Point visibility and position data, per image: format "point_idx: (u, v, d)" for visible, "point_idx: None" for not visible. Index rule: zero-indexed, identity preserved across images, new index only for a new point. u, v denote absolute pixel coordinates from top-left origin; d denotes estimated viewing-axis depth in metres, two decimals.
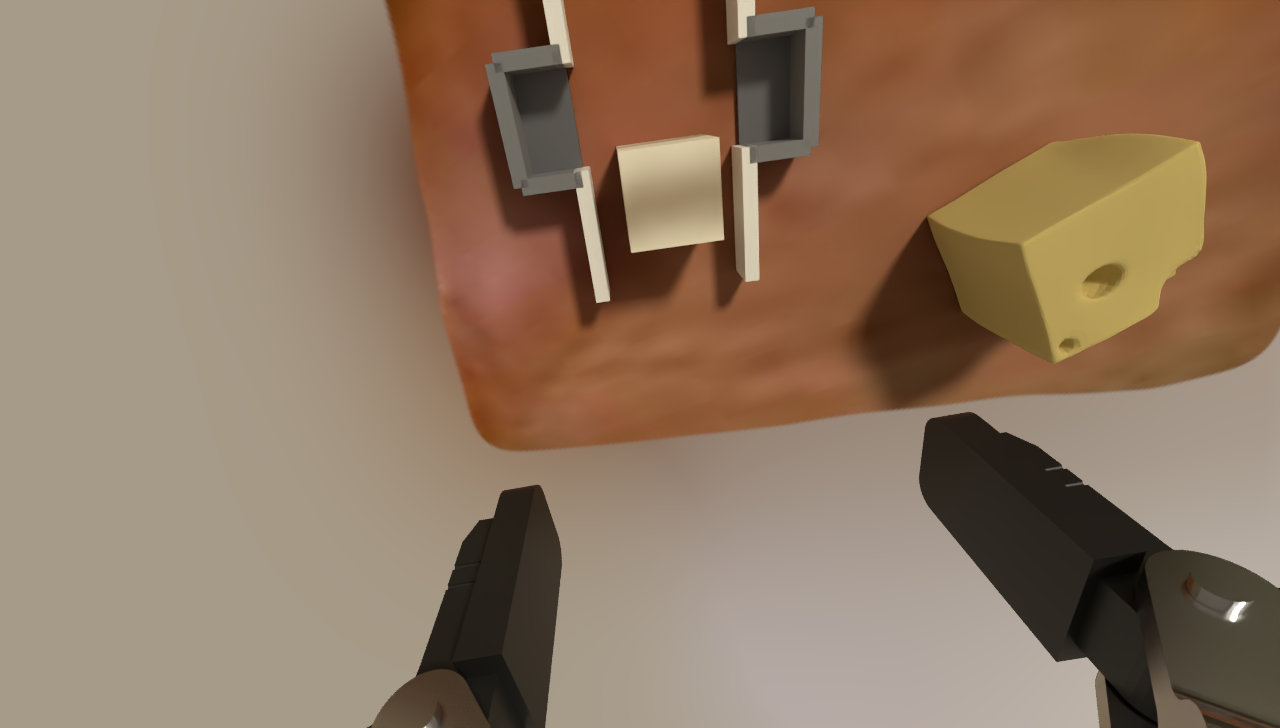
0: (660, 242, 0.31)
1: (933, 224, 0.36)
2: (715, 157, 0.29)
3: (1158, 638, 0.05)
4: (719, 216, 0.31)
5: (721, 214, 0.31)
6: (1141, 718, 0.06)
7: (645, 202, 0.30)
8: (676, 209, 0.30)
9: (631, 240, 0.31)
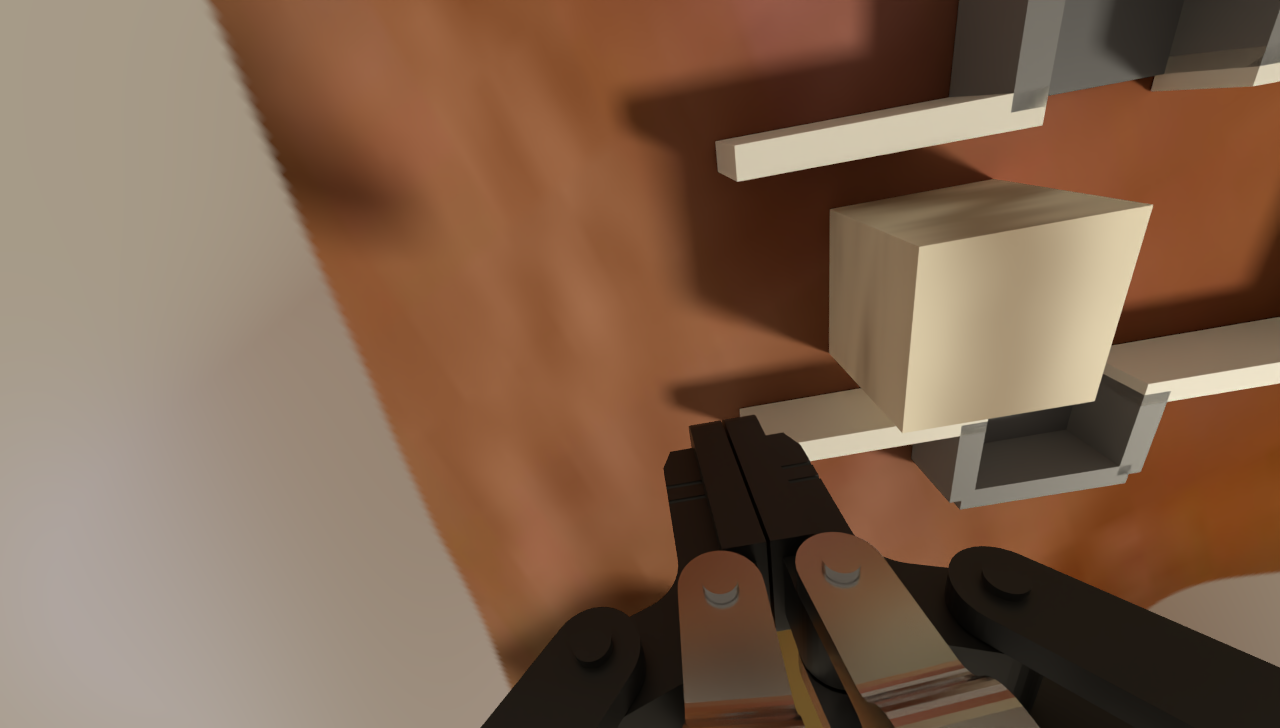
0: (928, 311, 0.14)
1: None
2: (1062, 399, 0.15)
3: (830, 638, 0.06)
4: (950, 419, 0.15)
5: (953, 422, 0.15)
6: (838, 693, 0.07)
7: (1025, 272, 0.13)
8: (989, 339, 0.14)
9: (948, 246, 0.13)
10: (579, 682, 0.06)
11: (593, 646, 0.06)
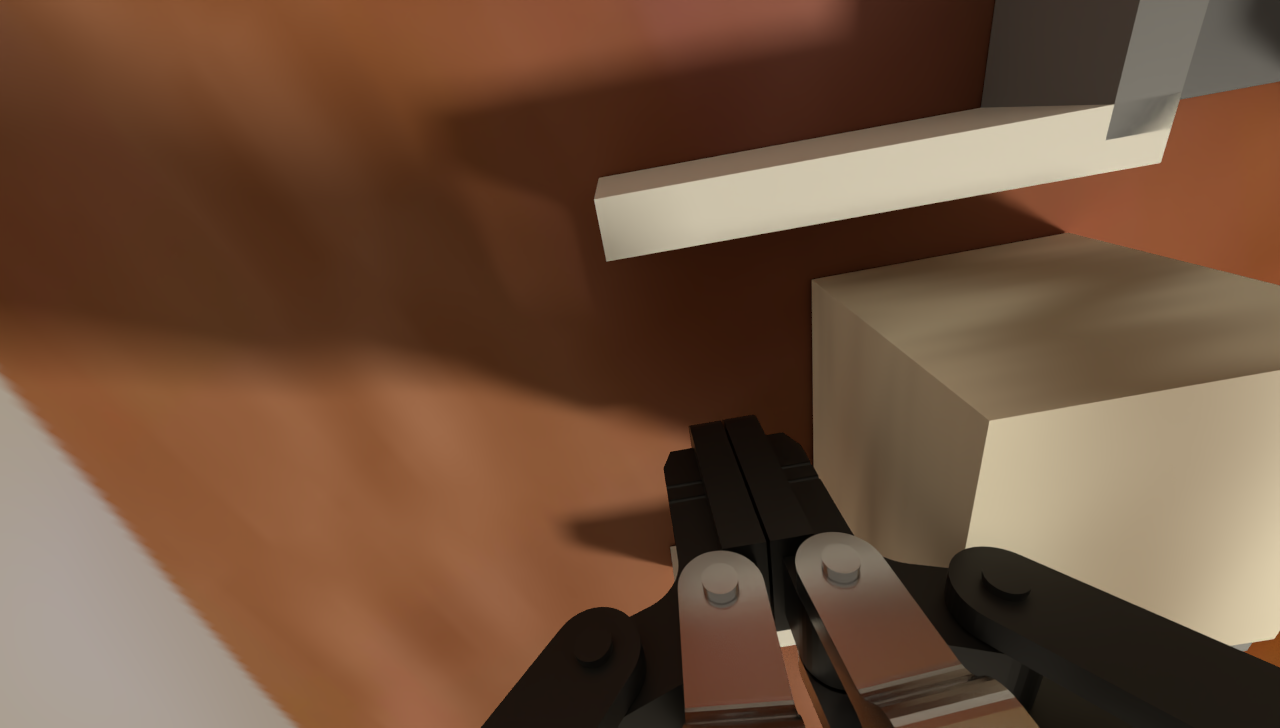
0: (999, 526, 0.07)
1: None
2: (1220, 639, 0.09)
3: (830, 638, 0.06)
4: None
5: None
6: (838, 693, 0.07)
7: (1196, 458, 0.07)
8: (1108, 562, 0.07)
9: (1050, 417, 0.06)
10: (579, 682, 0.06)
11: (593, 646, 0.06)
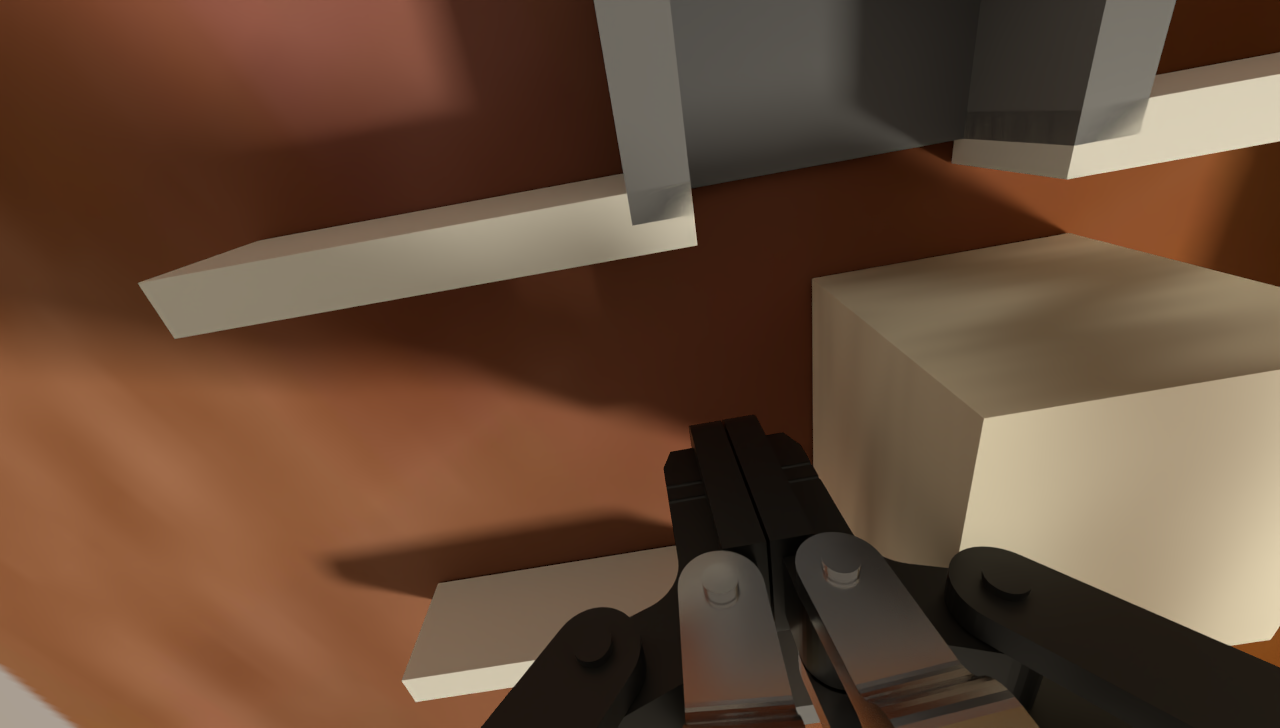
0: (993, 522, 0.07)
1: None
2: (1216, 639, 0.09)
3: (830, 638, 0.06)
4: None
5: None
6: (838, 693, 0.07)
7: (1190, 457, 0.07)
8: (1103, 560, 0.08)
9: (1044, 416, 0.06)
10: (579, 682, 0.06)
11: (593, 645, 0.06)
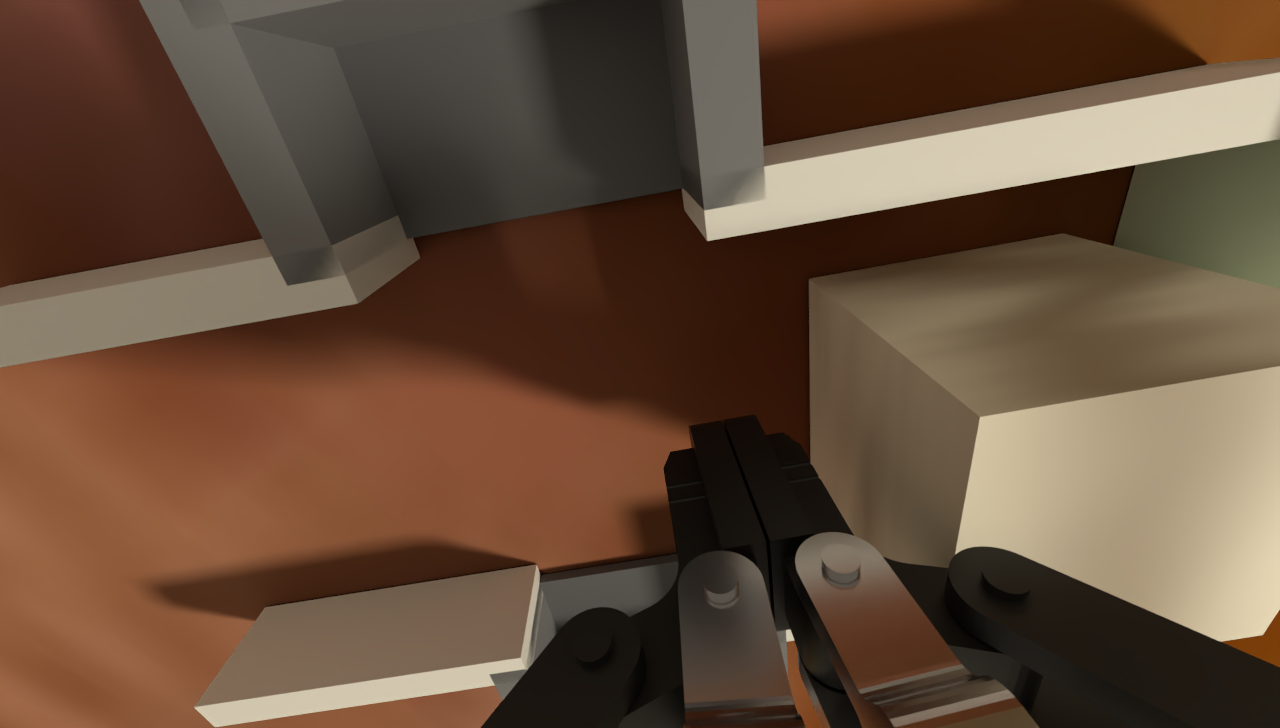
0: (989, 520, 0.07)
1: None
2: (1209, 635, 0.09)
3: (830, 638, 0.06)
4: None
5: None
6: (838, 693, 0.07)
7: (1183, 455, 0.07)
8: (1097, 557, 0.08)
9: (1039, 414, 0.06)
10: (579, 682, 0.06)
11: (593, 646, 0.06)
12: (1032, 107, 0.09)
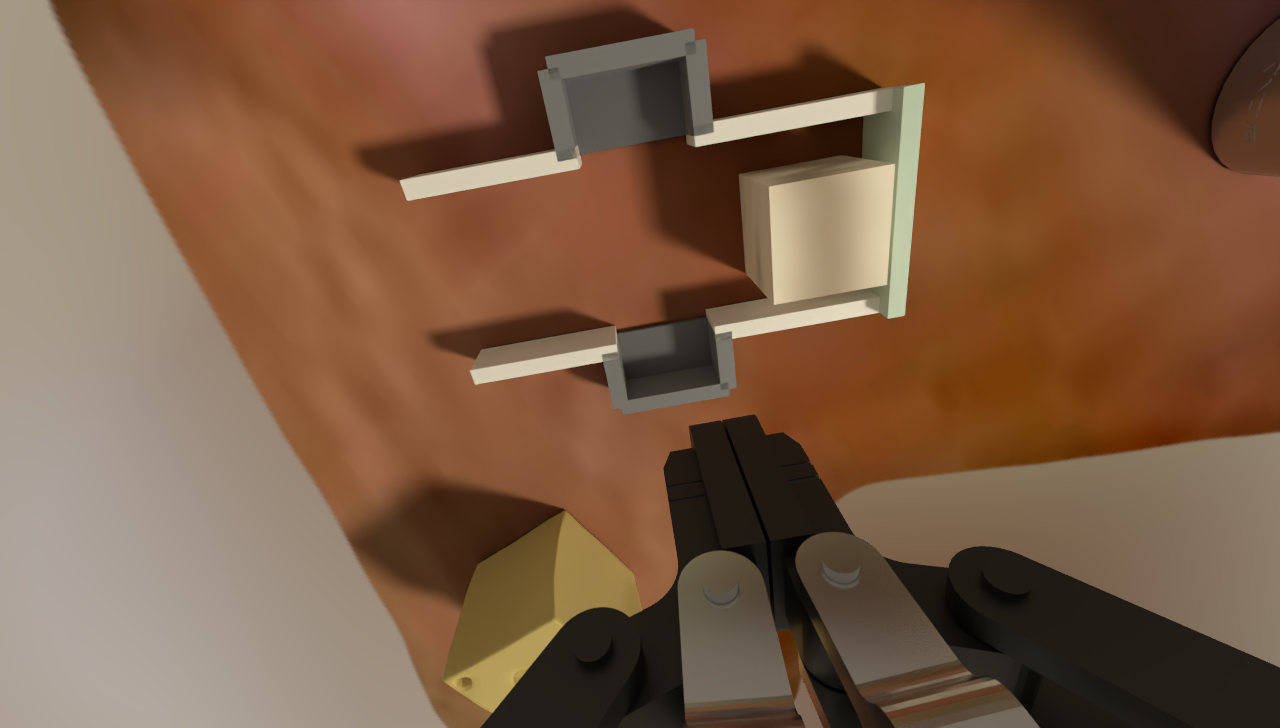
0: (779, 225, 0.24)
1: (558, 520, 0.38)
2: (867, 283, 0.26)
3: (830, 638, 0.06)
4: (801, 296, 0.26)
5: (804, 298, 0.26)
6: (839, 693, 0.07)
7: (831, 202, 0.24)
8: (817, 243, 0.24)
9: (785, 186, 0.23)
10: (579, 682, 0.06)
11: (593, 646, 0.06)
12: (804, 103, 0.25)
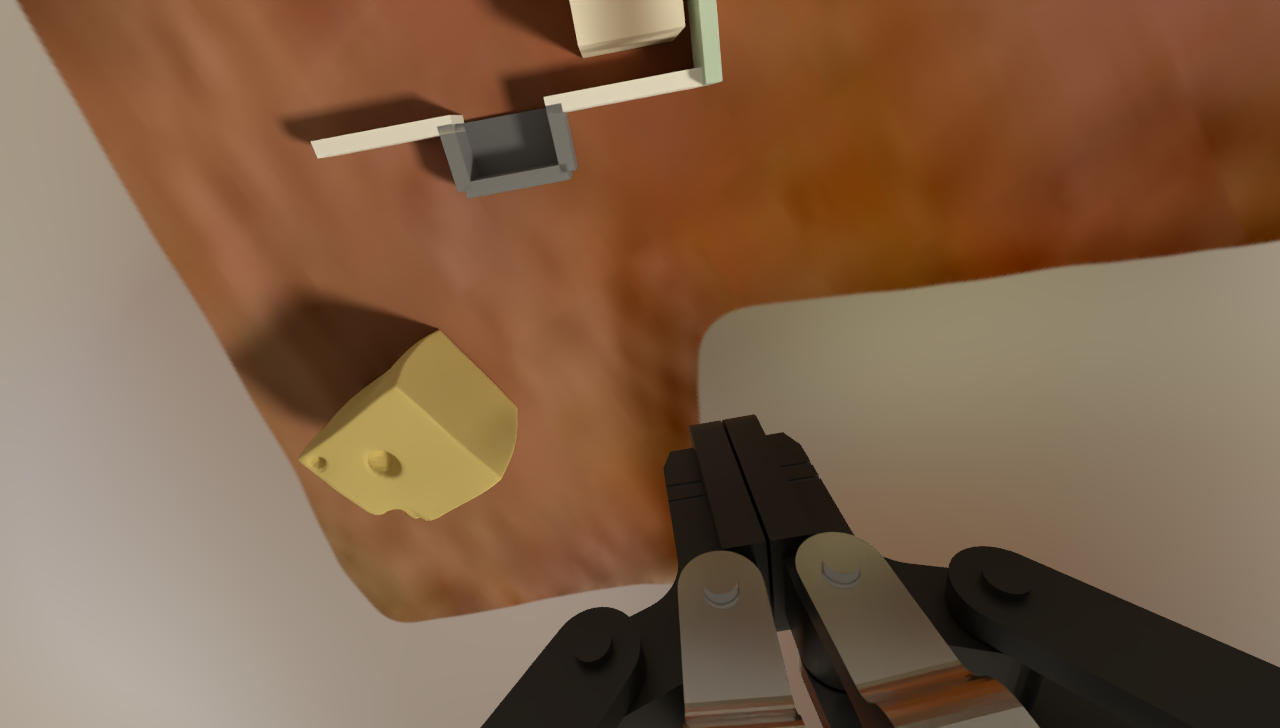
0: None
1: (430, 334, 0.39)
2: (665, 23, 0.27)
3: (830, 638, 0.06)
4: (604, 37, 0.27)
5: (606, 39, 0.27)
6: (839, 693, 0.07)
7: None
8: None
9: None
10: (579, 682, 0.06)
11: (593, 646, 0.06)
12: None
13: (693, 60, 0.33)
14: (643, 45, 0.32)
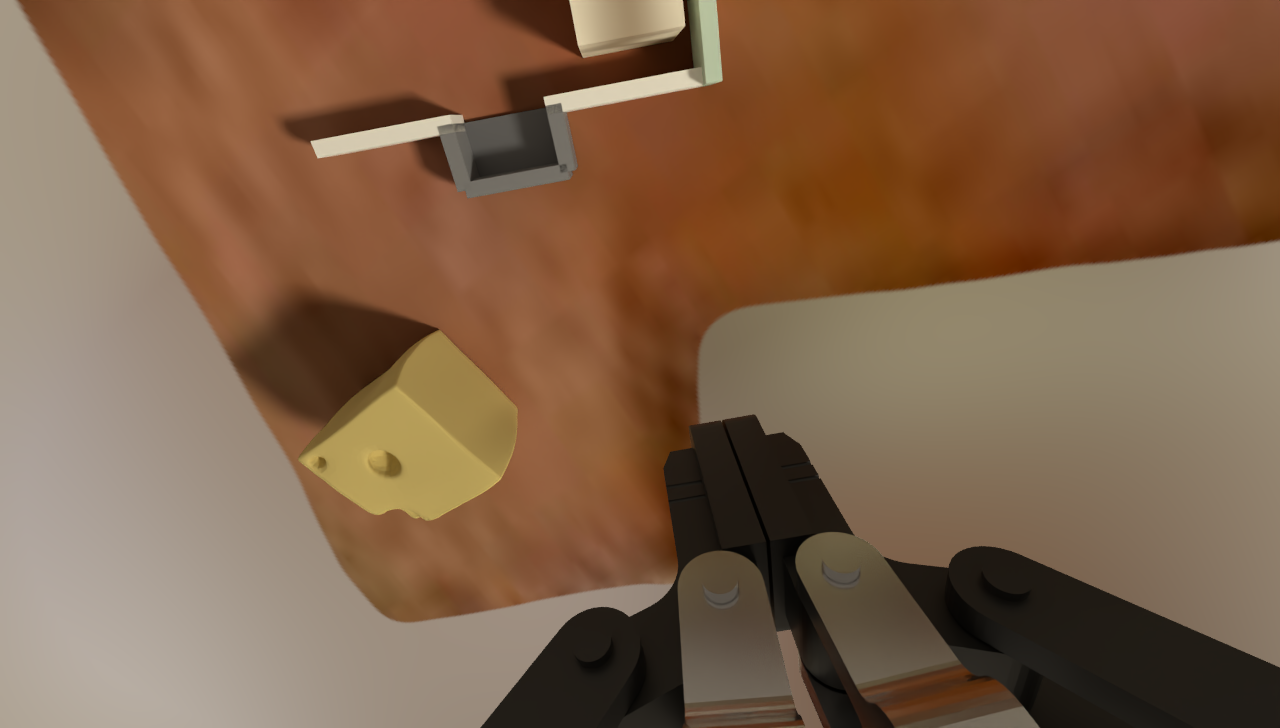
0: None
1: (429, 334, 0.39)
2: (665, 23, 0.27)
3: (830, 638, 0.06)
4: (603, 36, 0.27)
5: (606, 38, 0.27)
6: (839, 693, 0.07)
7: None
8: None
9: None
10: (579, 682, 0.06)
11: (593, 646, 0.06)
12: None
13: (693, 60, 0.33)
14: (643, 45, 0.31)
